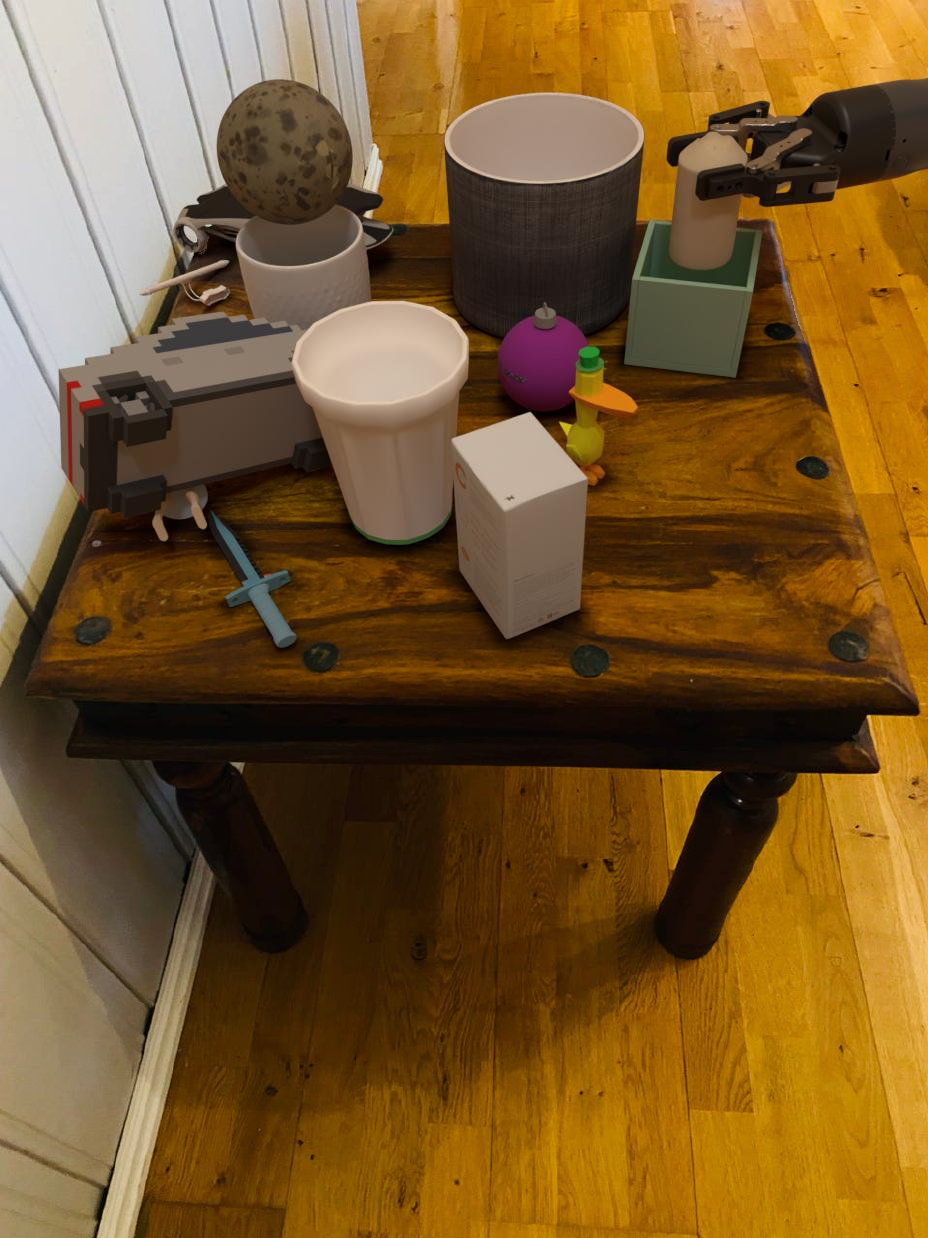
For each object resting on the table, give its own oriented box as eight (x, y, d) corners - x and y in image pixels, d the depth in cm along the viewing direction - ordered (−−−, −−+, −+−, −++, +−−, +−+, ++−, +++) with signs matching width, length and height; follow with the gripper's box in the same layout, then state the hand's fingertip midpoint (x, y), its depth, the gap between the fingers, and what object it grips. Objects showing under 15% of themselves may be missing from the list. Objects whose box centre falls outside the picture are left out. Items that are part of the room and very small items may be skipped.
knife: (179, 515, 81) (236, 492, 82) (183, 526, 81) (239, 503, 83) (256, 649, 70) (320, 620, 71) (260, 660, 71) (323, 631, 72)
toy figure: (637, 480, 82) (651, 358, 72) (614, 505, 80) (626, 383, 71) (568, 450, 84) (573, 329, 75) (545, 474, 83) (547, 352, 73)
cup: (507, 522, 79) (504, 361, 67) (370, 588, 75) (342, 429, 63) (427, 439, 86) (412, 280, 74) (299, 495, 82) (261, 337, 70)
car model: (159, 222, 105) (176, 267, 109) (355, 231, 96) (366, 280, 99) (218, 178, 112) (231, 222, 115) (406, 183, 102) (415, 230, 106)
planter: (417, 307, 99) (403, 150, 87) (519, 230, 108) (518, 77, 96) (566, 366, 92) (573, 203, 80) (662, 278, 101) (681, 119, 89)
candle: (671, 271, 86) (684, 156, 78) (665, 238, 89) (677, 125, 81) (735, 269, 85) (755, 153, 78) (727, 236, 89) (745, 122, 81)
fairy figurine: (262, 528, 78) (248, 461, 87) (242, 476, 75) (230, 412, 84) (119, 573, 77) (121, 500, 86) (93, 522, 74) (98, 452, 83)
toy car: (388, 371, 79) (324, 296, 83) (96, 429, 66) (38, 337, 70) (364, 458, 85) (307, 385, 89) (96, 525, 72) (42, 436, 76)
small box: (582, 610, 73) (591, 478, 63) (505, 642, 71) (502, 511, 61) (529, 541, 78) (531, 408, 68) (457, 569, 76) (447, 437, 66)
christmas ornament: (598, 424, 86) (605, 325, 79) (506, 436, 86) (504, 337, 78) (578, 368, 92) (583, 270, 84) (491, 379, 91) (488, 282, 84)
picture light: (137, 289, 96) (135, 309, 97) (173, 308, 95) (171, 328, 96) (226, 256, 106) (224, 275, 108) (259, 273, 105) (256, 292, 107)
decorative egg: (350, 253, 80) (302, 225, 92) (389, 113, 77) (334, 103, 89) (220, 210, 75) (187, 187, 87) (255, 57, 71) (216, 55, 83)
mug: (312, 299, 101) (289, 173, 91) (412, 316, 98) (400, 187, 88) (244, 386, 92) (210, 257, 82) (352, 407, 89) (330, 276, 79)
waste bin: (745, 314, 96) (762, 229, 89) (735, 377, 90) (753, 291, 83) (640, 303, 98) (649, 219, 91) (623, 364, 92) (631, 278, 85)
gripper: (840, 53, 84) (654, 86, 82) (933, 124, 75) (726, 162, 73) (821, 142, 90) (646, 174, 88) (905, 217, 81) (712, 255, 79)
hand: (683, 169), depth 81 cm, fingers closed on candle, 5 cm apart
